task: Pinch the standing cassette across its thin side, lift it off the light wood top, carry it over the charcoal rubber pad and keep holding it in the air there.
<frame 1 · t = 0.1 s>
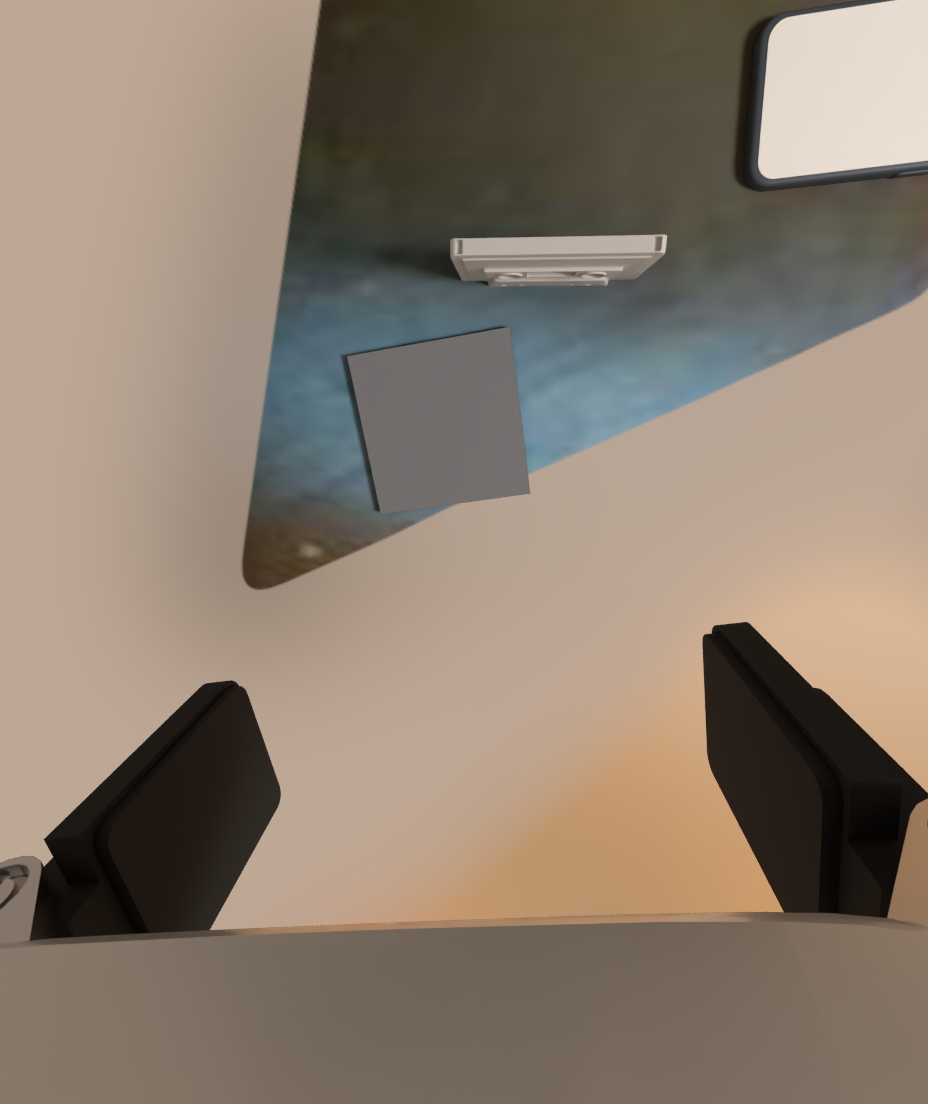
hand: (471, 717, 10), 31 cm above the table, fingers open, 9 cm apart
phone case: (881, 99, 31), on the table
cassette: (547, 274, 35), on the table
pad: (442, 426, 39), on the table
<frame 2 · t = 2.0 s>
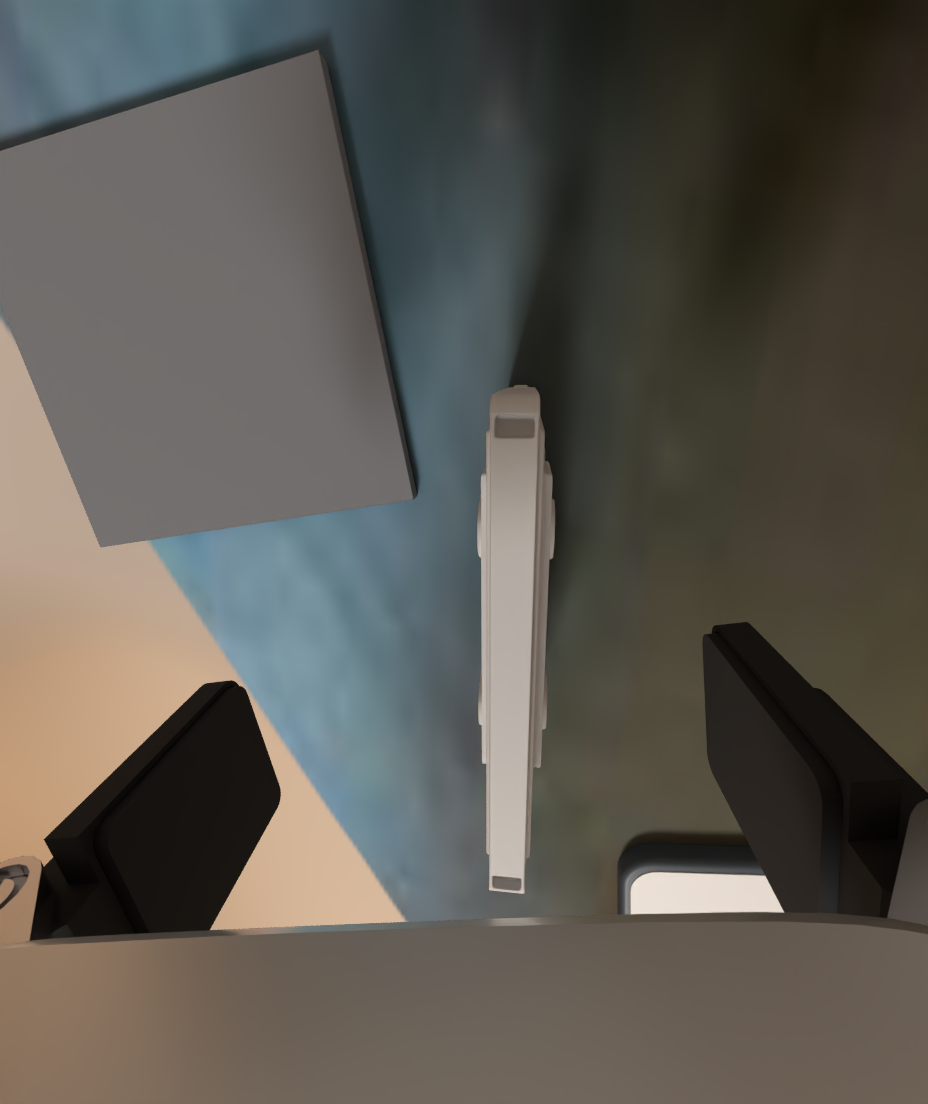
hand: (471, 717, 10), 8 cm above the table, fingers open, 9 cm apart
phone case: (712, 966, 24), on the table
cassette: (518, 563, 18), on the table
pad: (201, 343, 17), on the table
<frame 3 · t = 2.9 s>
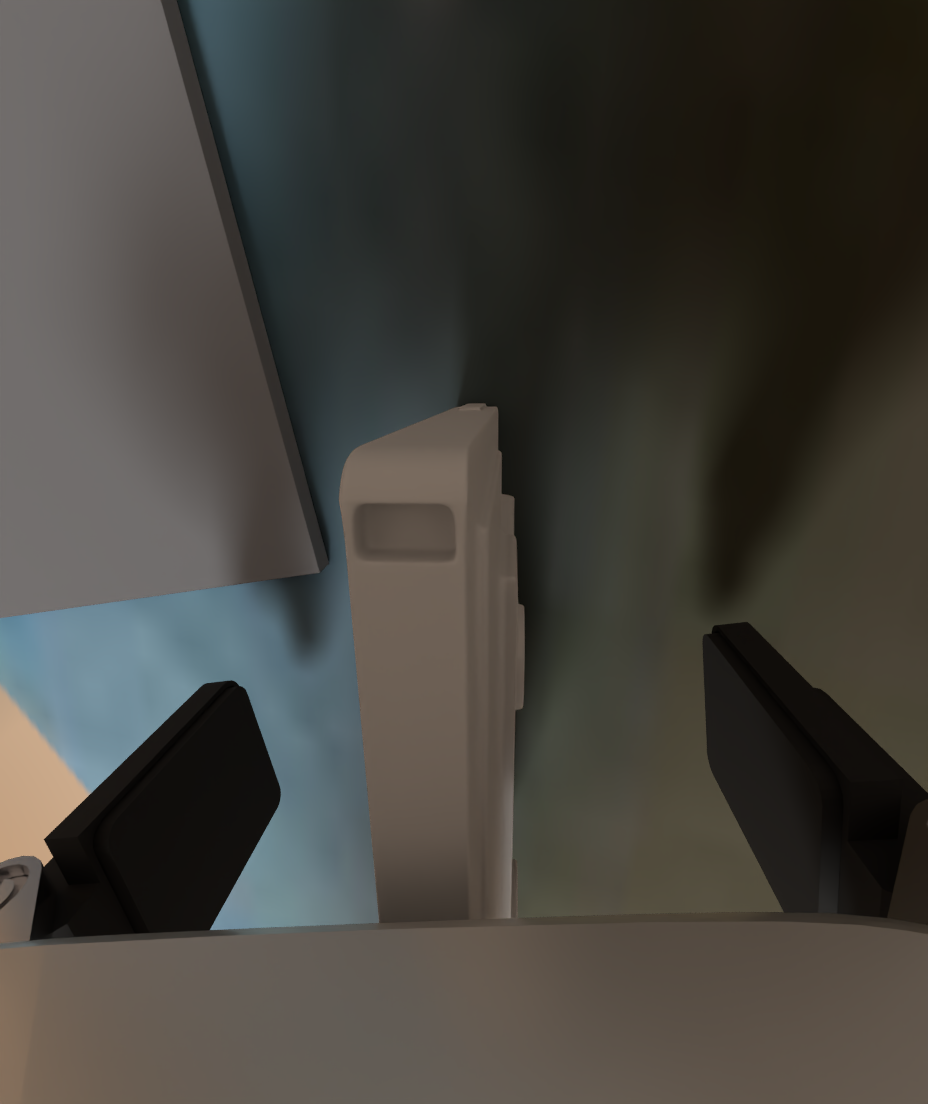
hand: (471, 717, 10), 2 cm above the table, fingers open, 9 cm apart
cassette: (479, 655, 13), on the table
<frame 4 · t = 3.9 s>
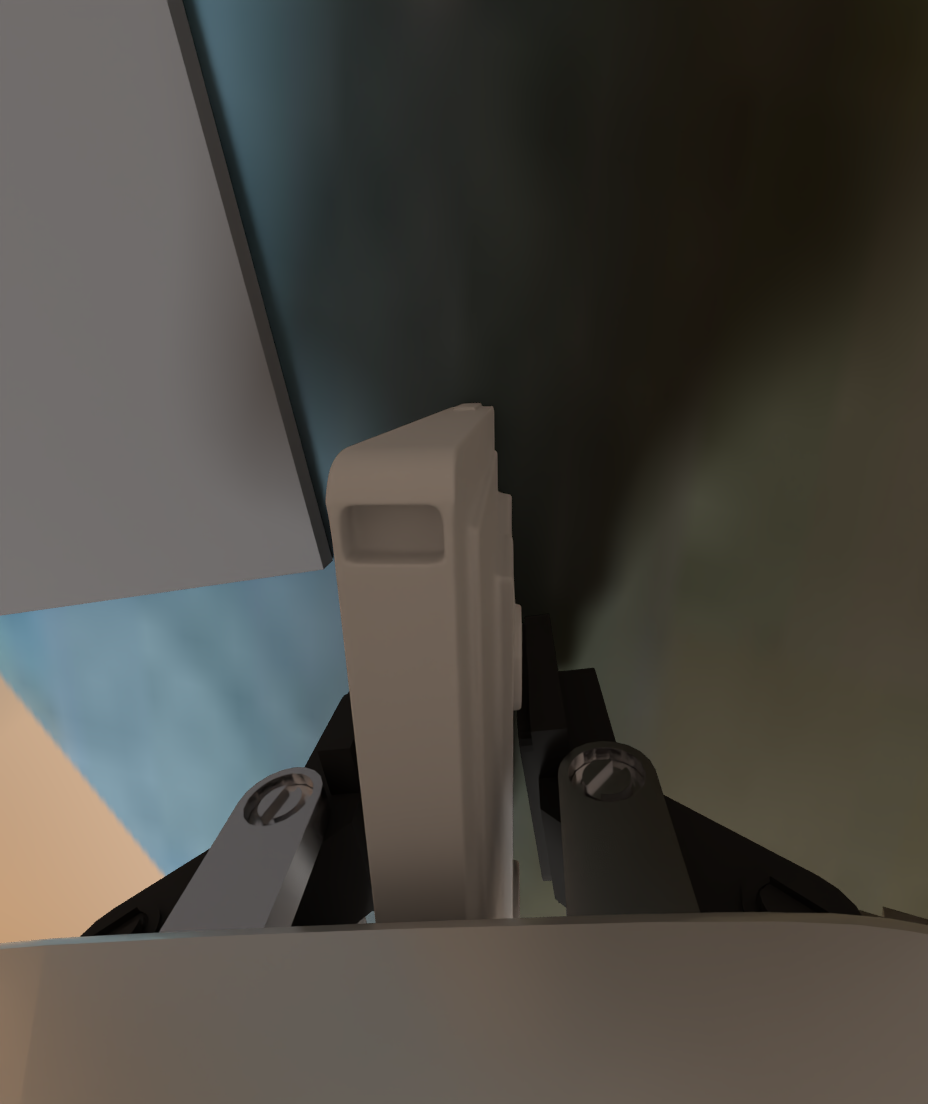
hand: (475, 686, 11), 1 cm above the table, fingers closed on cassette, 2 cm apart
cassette: (479, 656, 13), on the table, touching gripper
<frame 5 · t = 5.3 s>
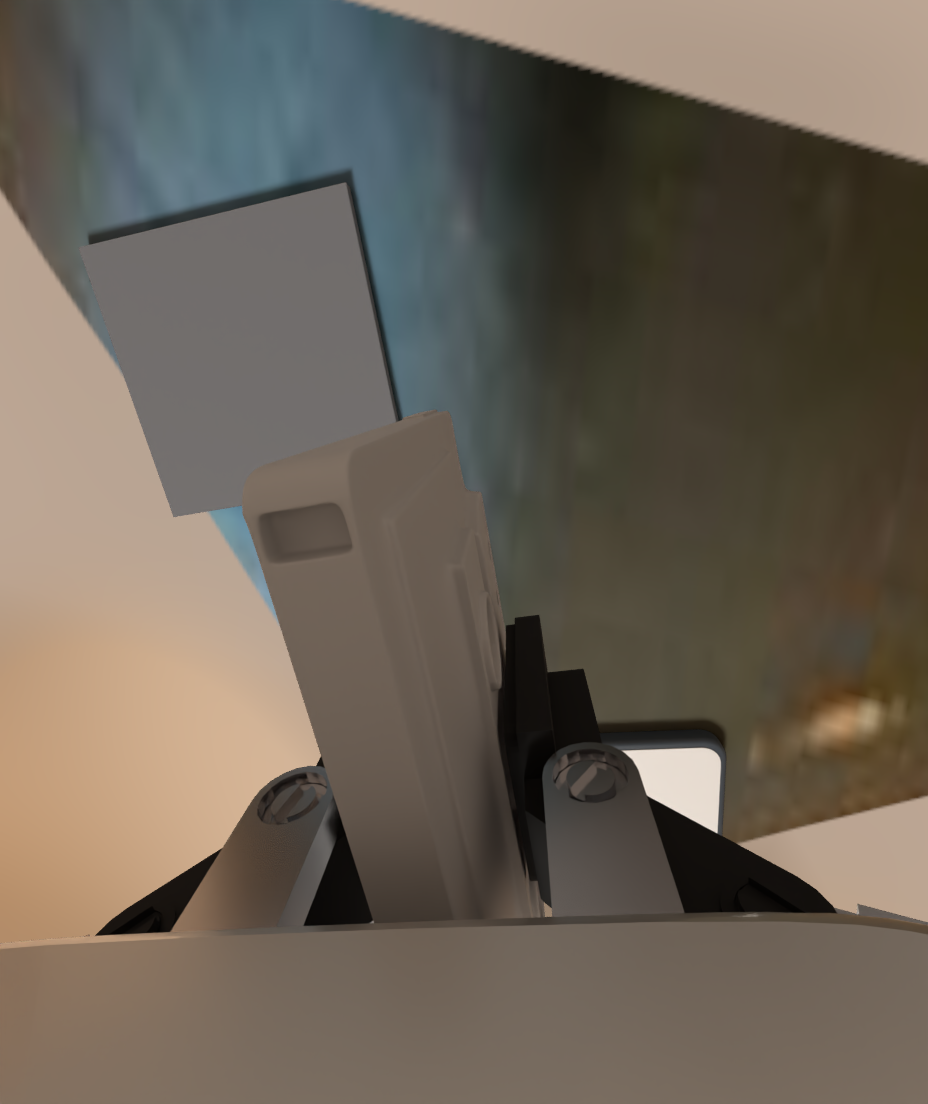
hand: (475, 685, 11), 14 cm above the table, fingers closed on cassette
phone case: (636, 836, 31), on the table
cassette: (478, 651, 13), point 13 cm above the table, touching gripper
pad: (256, 368, 23), on the table
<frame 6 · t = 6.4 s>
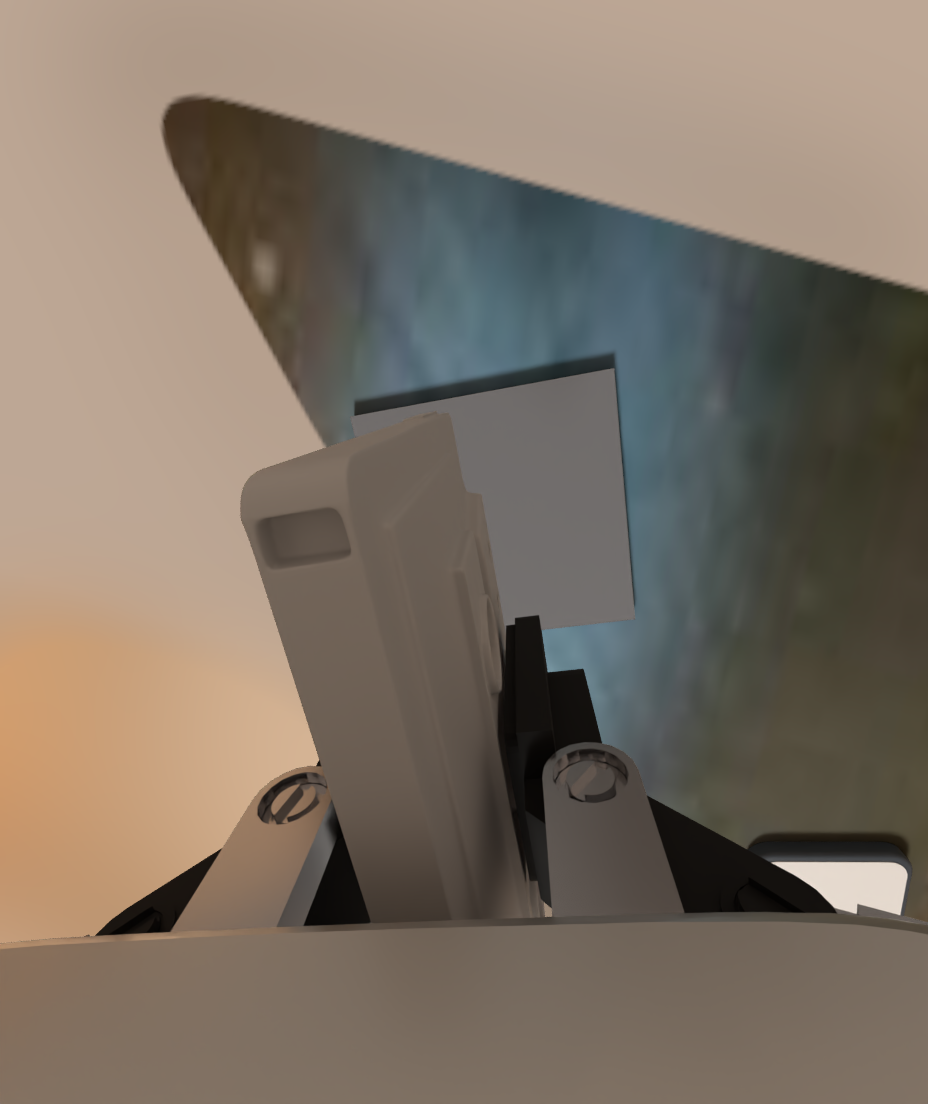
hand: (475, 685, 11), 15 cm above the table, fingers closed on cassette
phone case: (804, 931, 32), on the table
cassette: (478, 653, 13), point 13 cm above the table, touching gripper
pad: (498, 518, 25), on the table
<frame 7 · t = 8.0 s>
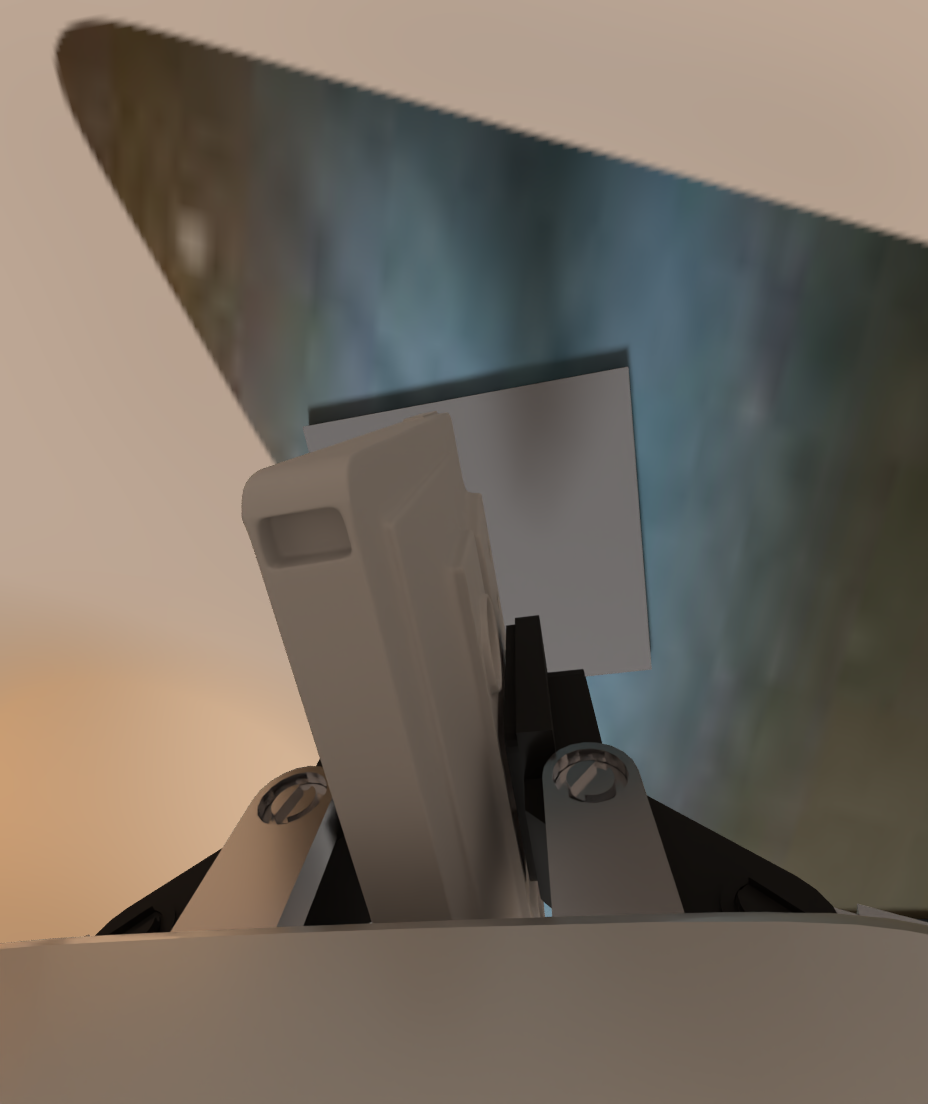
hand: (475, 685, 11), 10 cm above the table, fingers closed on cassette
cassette: (478, 652, 13), point 8 cm above the table, touching gripper
pad: (485, 549, 21), on the table
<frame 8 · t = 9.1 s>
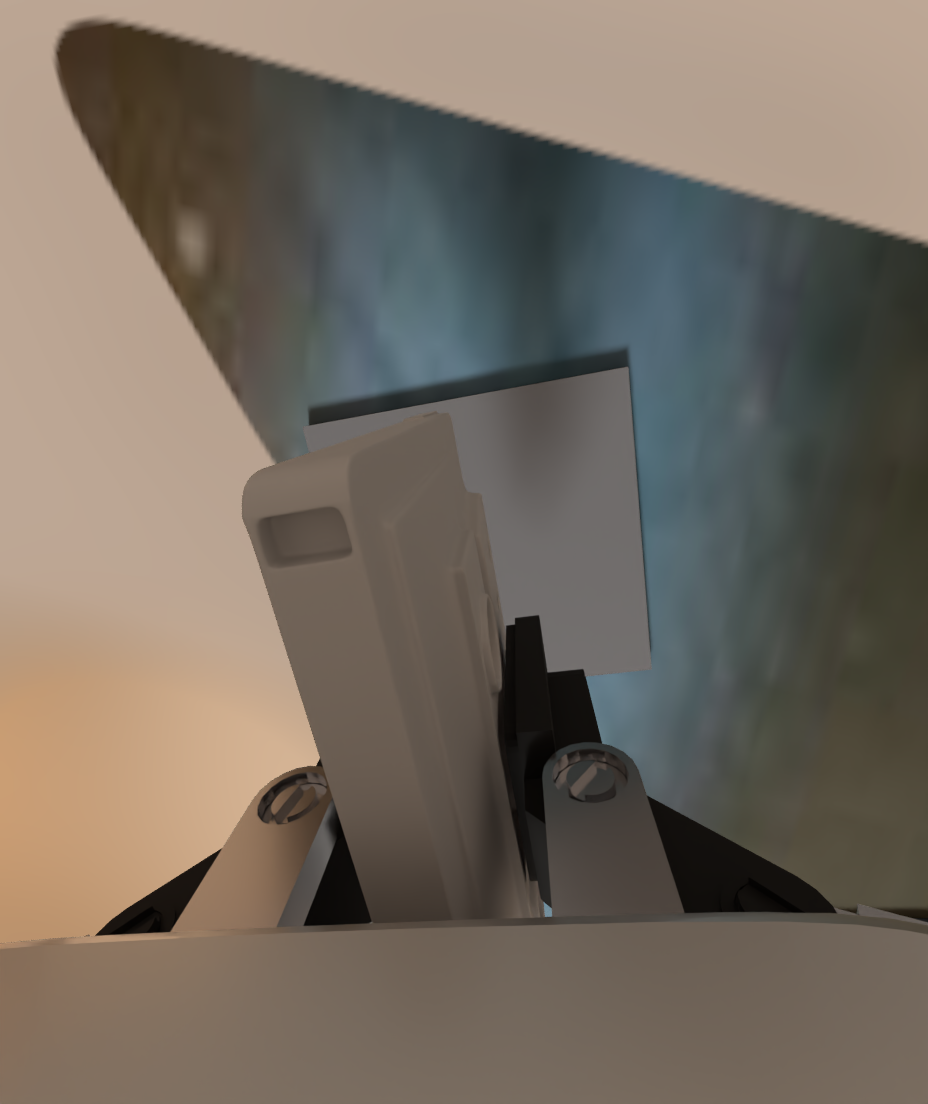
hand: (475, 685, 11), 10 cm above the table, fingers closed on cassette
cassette: (478, 652, 13), point 8 cm above the table, touching gripper
pad: (485, 549, 21), on the table
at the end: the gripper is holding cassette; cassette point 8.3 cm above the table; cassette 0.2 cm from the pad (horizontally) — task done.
